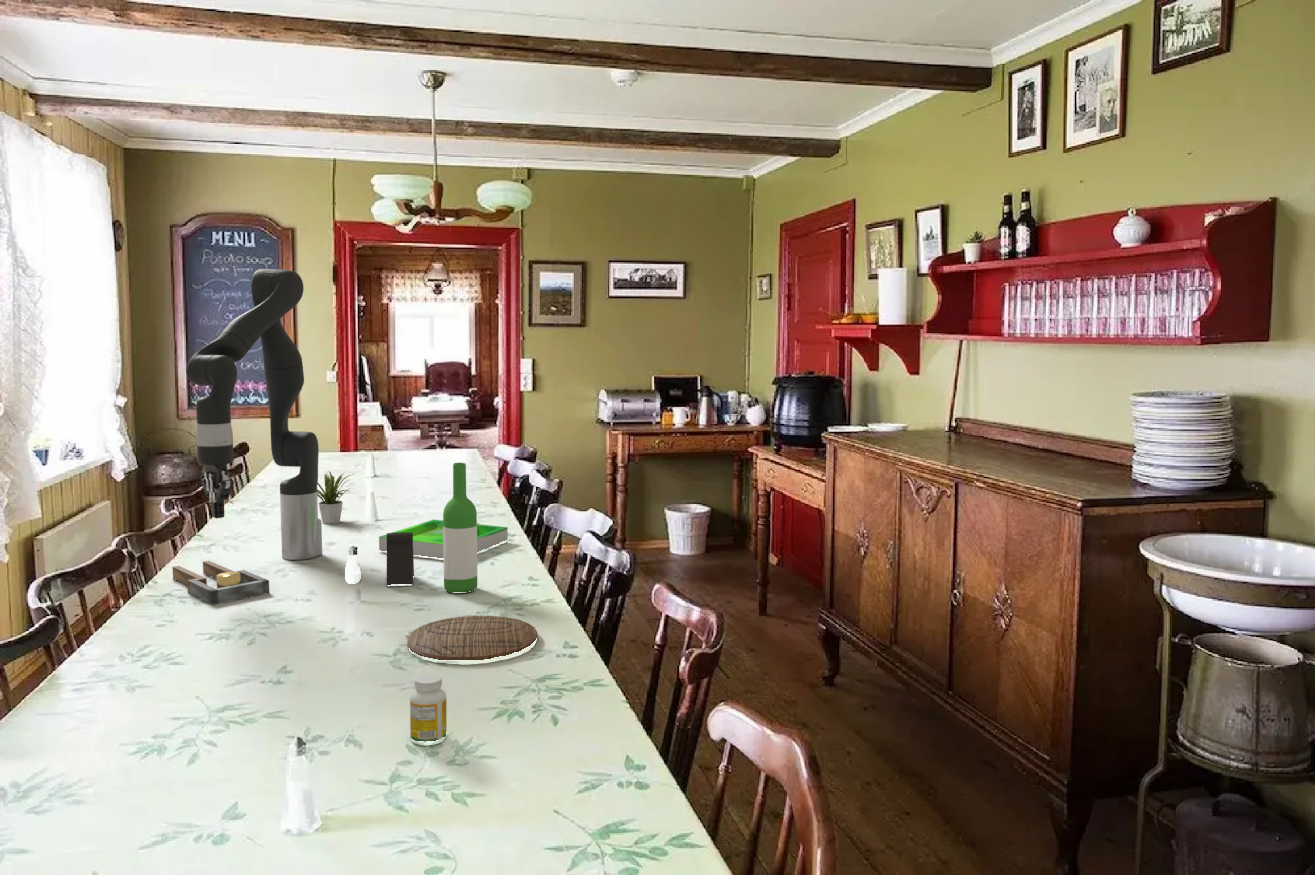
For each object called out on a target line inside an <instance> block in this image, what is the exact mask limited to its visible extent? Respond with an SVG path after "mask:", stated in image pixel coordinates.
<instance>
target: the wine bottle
mask: <svg viewBox="0 0 1315 875" xmlns="http://www.w3.org/2000/svg"><path fill="white" fill-rule="evenodd" d="M452 477H453V478H452V490H453V491H452V498H451V499H450V500H449V501H447V502H446V504H445V506H444V508H443V512H442V517H443V518H442V520H443V556H444V561H443V588H444V590H445V591H446V590H447V591H449V592H469V591H472V590H474V589H475V590H477V588H478V555H477V524H478V520H477V519H478V518H477V517H478V515H477V514H478V512H477V509H476V506H475V504H474V503H473V501H471V499H469V498H468V497H467V464H466V463H465V462H454V463H453V464H452ZM475 590H474V591H475ZM447 591H446V592H447ZM449 592H448V593H449ZM472 592H473V591H472Z"/></svg>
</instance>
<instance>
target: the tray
mask: <svg viewBox="0 0 1315 875" xmlns="http://www.w3.org/2000/svg"><path fill="white" fill-rule="evenodd" d="M409 532H413V555H421V556H428V557H437V558H444V556H443V519H442V520H441V519H430V520H427V521H424V522H421V523H419V524H415V525H412V526H409V527H405V528H402V529H400V530H399V529H398V530H395V531H392V532H391V533H409ZM508 534H509V533H508V527H507V526H497V525H490V524H480V523H477V552H479V551H481V550H483V549H487V548H489V547H491V546H493V545H496V544H499V543H500V542H502V541H505V540H507V539H508ZM508 540H509V539H508ZM378 543H379V544H378V547H379V548H378V551H379V550H381V551H387V533H386V534H383V535H381V536H378Z"/></svg>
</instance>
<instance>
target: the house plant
mask: <svg viewBox="0 0 1315 875" xmlns="http://www.w3.org/2000/svg"><path fill="white" fill-rule="evenodd" d="M328 472H329V474H328ZM328 472H327V471H325V473H324V488H325V489H324V488H323V487H322V485H321V484H320V483H319V482H318V483H317V487H319V488H320V489H321V491H320V490H319V489H318V488H317V498H318V497H319V498H320V499H321V501H319V502H318V509H319V511H320V517H321V524H325V525H332V524H333V525H334V524H339V523H341V519H342V509H343V505H344V504H343V503H344V502H343V501H341V500H340V499H341V497H342V496H343V495H344V494H345V493H346V492H350V493H351V491H350V489H353V487H350V488H348V489H342V487H343V486H344V485H345V483H347V482H348V481H350V479H347V478H348V477H350V476H355V475H356V474H355V473H353V474H349V475H347V476H344V475H345V472H343V473H341V474H340V475H339V476H338V477H337V479H336V480H335V475H332V472H331V471H330V470H328ZM343 476H344V477H343ZM346 479H347V480H346ZM344 480H346V481H344ZM342 482H343V484H342ZM341 484H342V485H341ZM338 488H339V489H338ZM339 495H340V496H339Z"/></svg>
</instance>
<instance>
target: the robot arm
mask: <svg viewBox="0 0 1315 875" xmlns="http://www.w3.org/2000/svg"><path fill="white" fill-rule="evenodd" d="M250 284H251V285H250V288H251V289H250V292H251V297H252V302H253V306H254V307H253V308H251V309H250V310H248V311H245V312H244V313H242V314H240V315H239V316H237V317H236V318H234V319H233V320H231V322H229V323H228V325H226V327H225V328H224V329H223V330H222V331H221V333H220V334H219V335H217V336H218V337H217V338H215V339H214V340H212V341H211V342H208V344H206V345H205V346H203V347H202V348H200V349H199V350H198V351H197V352H195V353H194V354H193V355H192V356H191V357H190V359H189V361H188V362H187V364H186V369H185V373H186V377H187V379H188V381H190V382H191V383H192V384H194V385H196V386H199V387H200V386H203V387H204V386H205V387H211V391H210V393H209V395H208V396H202V397H200V398H198V400H196V406H195V407H196V409H195V410H196V434H195V435H196V437H195V438H196V454H197V455H196V456H197V463H198V464H199V466H200V465H202V466H204V473H203V474H201V475H200V476H199V479H200V482H201V484H202V487H203V491H204V493H205V497H206V498H208V499H209V501H210V502H211V517H212V518H214V519H221V518H225V502H226V500H229V498H230V496H231V493H232V491H233V487H234V480H233V479H229V470H228V465H229V464H232V463H233V462H234V461H235V460H234V459H235V458H234V457H235V456H234V435H233V429H232V428H233V427H232V418H231V417H232V416H231V414H232V413H231V403H232V399H233V395H234V390H235V386H236V382H237V380H238V378H237V377H238V369H237V364H236V363H237V362H239V361H240V360H242V359H243V358H244V357H245V356H246V355H247V353H248V352H249V351H250V350H251V349H252V347H253V346H254V345H255V343H256V342H258V340H259V339H260V342H261V348H262V349H261V350H262V358H263V359H262V360H263V369H264V370H263V371H264V378H265V383H266V389H267V390H266V391H267V398H268V407H269V422H270V423H269V424H270V425H269V426H270V429H269V430H270V450H271V455H272V459H273V461H274V463H275V464H276V465H277V466H279V467H290V468H291V467H296V468H297V467H299V473H298V474H297V475H295V476H294V477H291V478H288V479H285V480H282V481H281V482H280V484H279V501H280V502H279V503H280V528H281V529H280V530H281V557H282V559H284V560H294V561H295V560H296V561H297V560H298V561H300V560H302V561H303V560H308V559H313V558H316V557H318V556H323V534H322V532H323V529H322V528H323V527H322V524H323V523H322V519H320V518H319V510H318V509H319V502H318V501H319V500H318V499H319V498H318V496H317V493H318V492H317V489H318V484H317V483H319V455H320V454H319V452H320V451H319V450H320V448H319V440H318V438H317V435H316V434H315V433H314V432H313V431H298V430H297V431H296V430H295V431H292V430H291V431H290V430H289V415H290V412H291V409H292V407H293V406H294V404H295V403H296V400H297V398H298V397H299V395H300V393H301V391H302V388H303V387H304V385H305V384H304V383H305V374H304V366H303V357H302V355H301V352H300V351H299V348H298V347H297V346H296V344H295V343H294V341H293V340H292V338H291V337H290V336H289V334H288V333H287V332H286V330H285V328H284V326H283V324H282V321H281V319H282V317H284V316H285V315H286V314H287V313H289V312H290V311H291V310H292V309H294V308H295V307H296V306H297V305H298V304H299V302H300V301H301V299H302V298H303V294H304V282H303V279H302V277H301V276H300V274H299V273H297V272H296V271H294V270H288V269H274V268H273V269H272V268H260V269H257V270H256V271H255V272H254V273H253V275H252V277H251V282H250Z"/></svg>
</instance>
